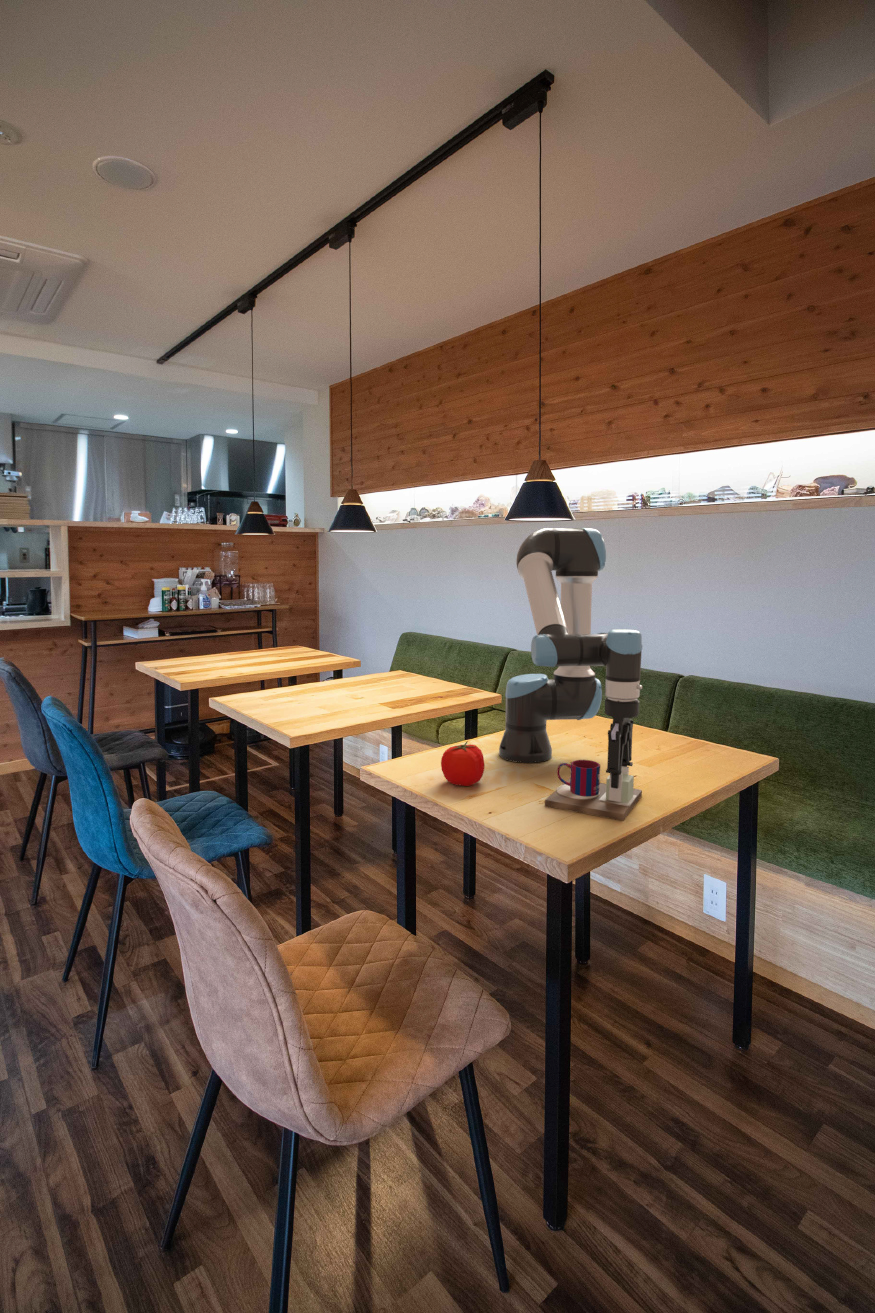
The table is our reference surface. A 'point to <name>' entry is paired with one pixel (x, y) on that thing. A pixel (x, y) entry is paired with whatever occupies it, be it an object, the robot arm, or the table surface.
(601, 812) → the board
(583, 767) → the mug
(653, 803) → the table surface
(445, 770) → the tomato
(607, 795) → the pale sage green cube
